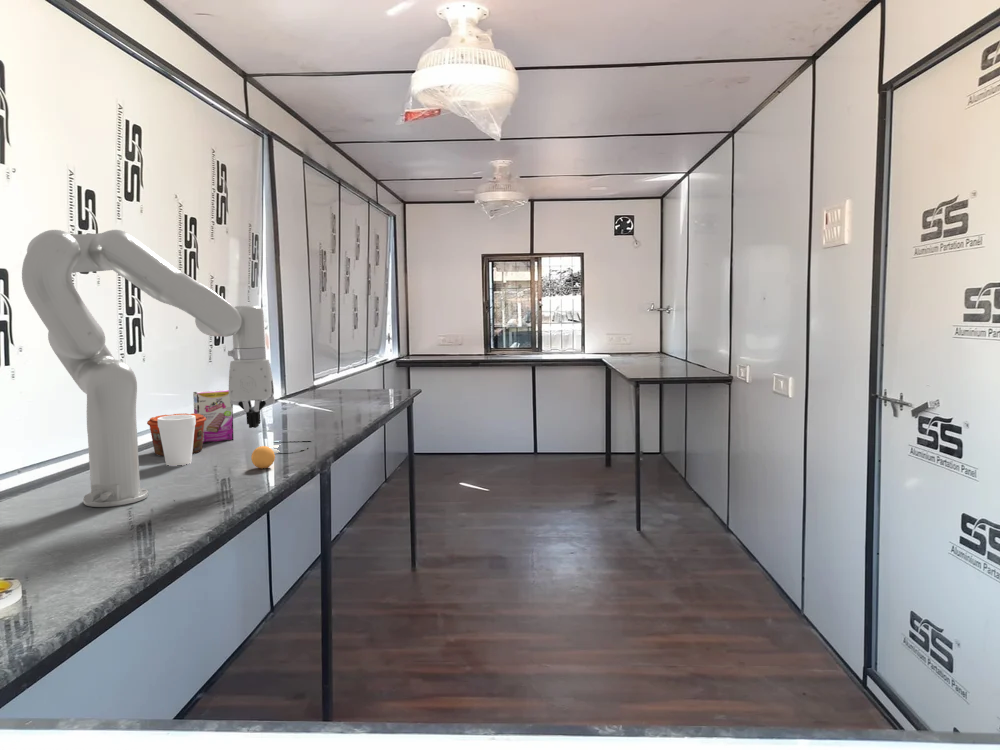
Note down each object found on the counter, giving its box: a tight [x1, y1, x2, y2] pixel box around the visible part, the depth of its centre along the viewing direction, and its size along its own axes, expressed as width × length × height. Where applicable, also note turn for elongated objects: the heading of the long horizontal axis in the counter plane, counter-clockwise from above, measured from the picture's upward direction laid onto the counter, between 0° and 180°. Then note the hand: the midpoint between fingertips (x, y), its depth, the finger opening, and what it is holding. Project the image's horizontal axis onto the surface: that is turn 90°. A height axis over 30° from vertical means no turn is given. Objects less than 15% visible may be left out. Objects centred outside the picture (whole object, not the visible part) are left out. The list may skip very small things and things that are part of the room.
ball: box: [251, 445, 276, 470], centre depth 180 cm, size 6×6×6 cm
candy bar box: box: [193, 389, 234, 444], centre depth 217 cm, size 11×5×16 cm, turn 130°
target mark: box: [269, 444, 280, 453], centre depth 205 cm, size 14×14×1 cm
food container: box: [146, 413, 206, 457], centre depth 200 cm, size 16×16×11 cm
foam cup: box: [157, 414, 196, 467], centre depth 185 cm, size 10×9×13 cm
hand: (254, 426), depth 170 cm, fingers closed
